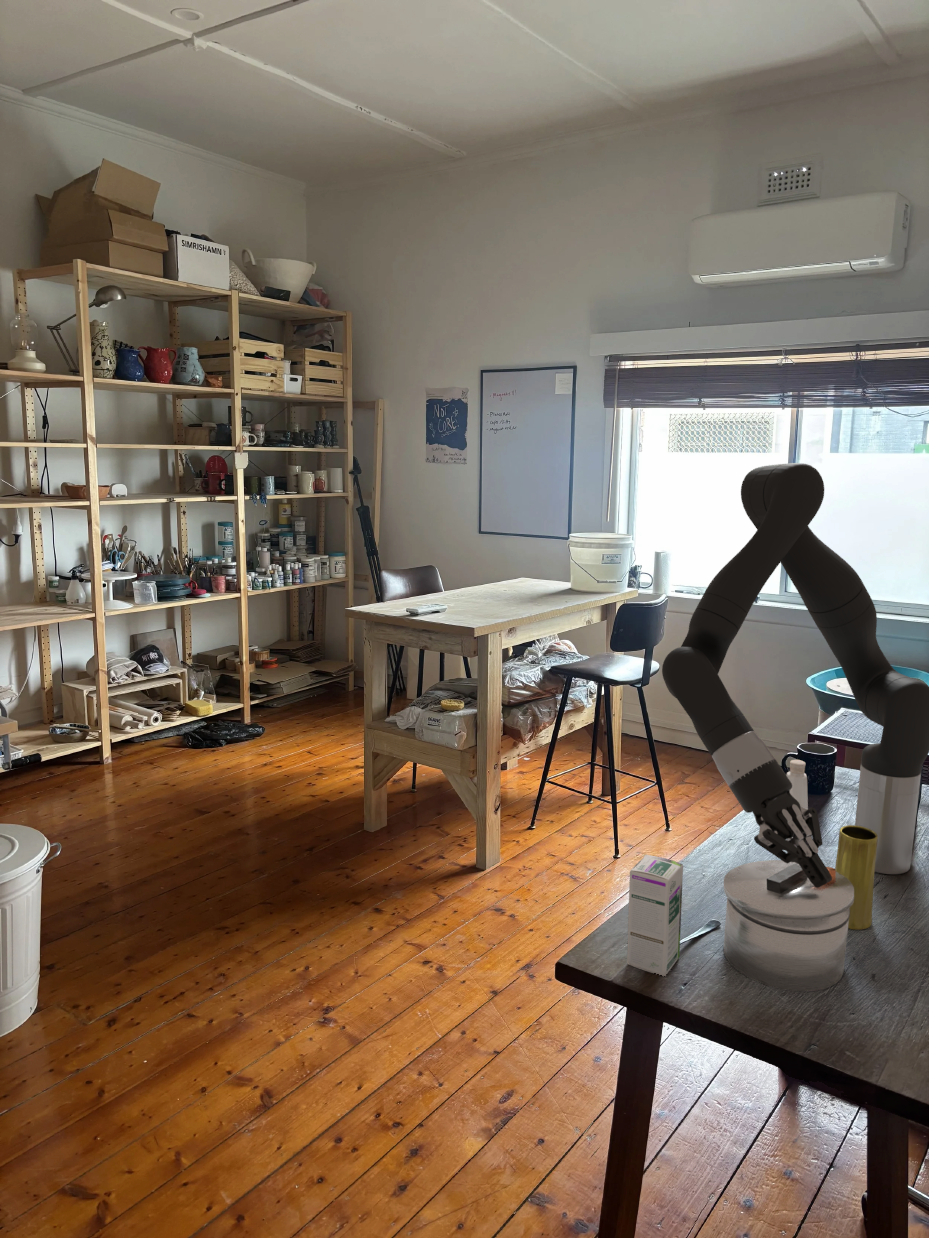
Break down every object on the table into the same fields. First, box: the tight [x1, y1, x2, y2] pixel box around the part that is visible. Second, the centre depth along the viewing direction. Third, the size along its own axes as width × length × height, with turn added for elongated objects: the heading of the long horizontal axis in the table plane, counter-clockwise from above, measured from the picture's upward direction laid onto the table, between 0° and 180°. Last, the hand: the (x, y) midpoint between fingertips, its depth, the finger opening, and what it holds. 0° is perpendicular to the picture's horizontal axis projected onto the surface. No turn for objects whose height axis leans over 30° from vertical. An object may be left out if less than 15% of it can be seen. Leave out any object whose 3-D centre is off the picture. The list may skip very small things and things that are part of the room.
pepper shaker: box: [786, 759, 809, 810], centre depth 174 cm, size 5×5×11 cm
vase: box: [834, 824, 878, 931], centre depth 137 cm, size 6×6×14 cm
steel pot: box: [723, 897, 850, 993], centre depth 127 cm, size 16×16×9 cm
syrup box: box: [626, 854, 684, 977], centre depth 125 cm, size 6×6×14 cm
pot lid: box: [723, 859, 854, 920], centre depth 126 cm, size 17×17×3 cm
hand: (824, 883), depth 121 cm, fingers closed
